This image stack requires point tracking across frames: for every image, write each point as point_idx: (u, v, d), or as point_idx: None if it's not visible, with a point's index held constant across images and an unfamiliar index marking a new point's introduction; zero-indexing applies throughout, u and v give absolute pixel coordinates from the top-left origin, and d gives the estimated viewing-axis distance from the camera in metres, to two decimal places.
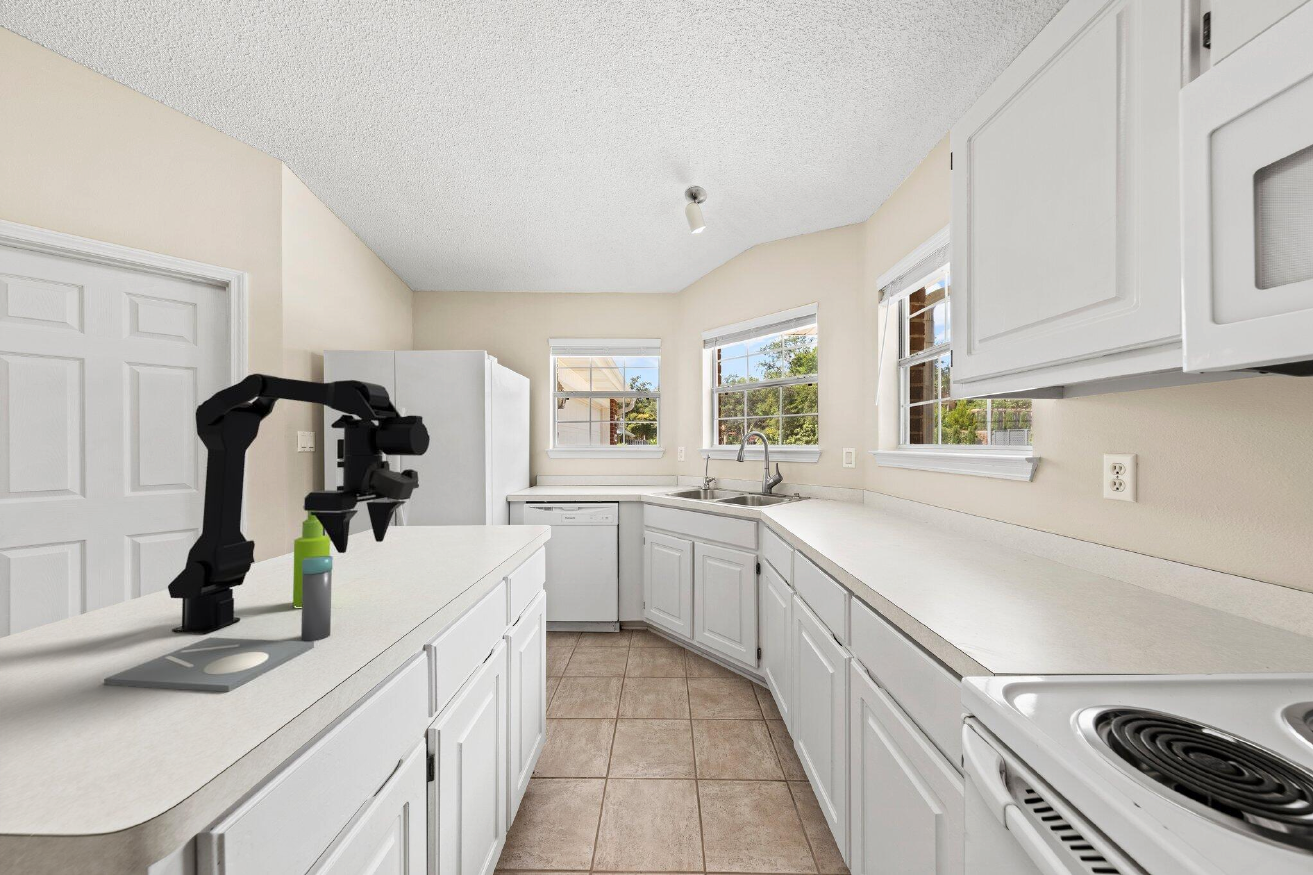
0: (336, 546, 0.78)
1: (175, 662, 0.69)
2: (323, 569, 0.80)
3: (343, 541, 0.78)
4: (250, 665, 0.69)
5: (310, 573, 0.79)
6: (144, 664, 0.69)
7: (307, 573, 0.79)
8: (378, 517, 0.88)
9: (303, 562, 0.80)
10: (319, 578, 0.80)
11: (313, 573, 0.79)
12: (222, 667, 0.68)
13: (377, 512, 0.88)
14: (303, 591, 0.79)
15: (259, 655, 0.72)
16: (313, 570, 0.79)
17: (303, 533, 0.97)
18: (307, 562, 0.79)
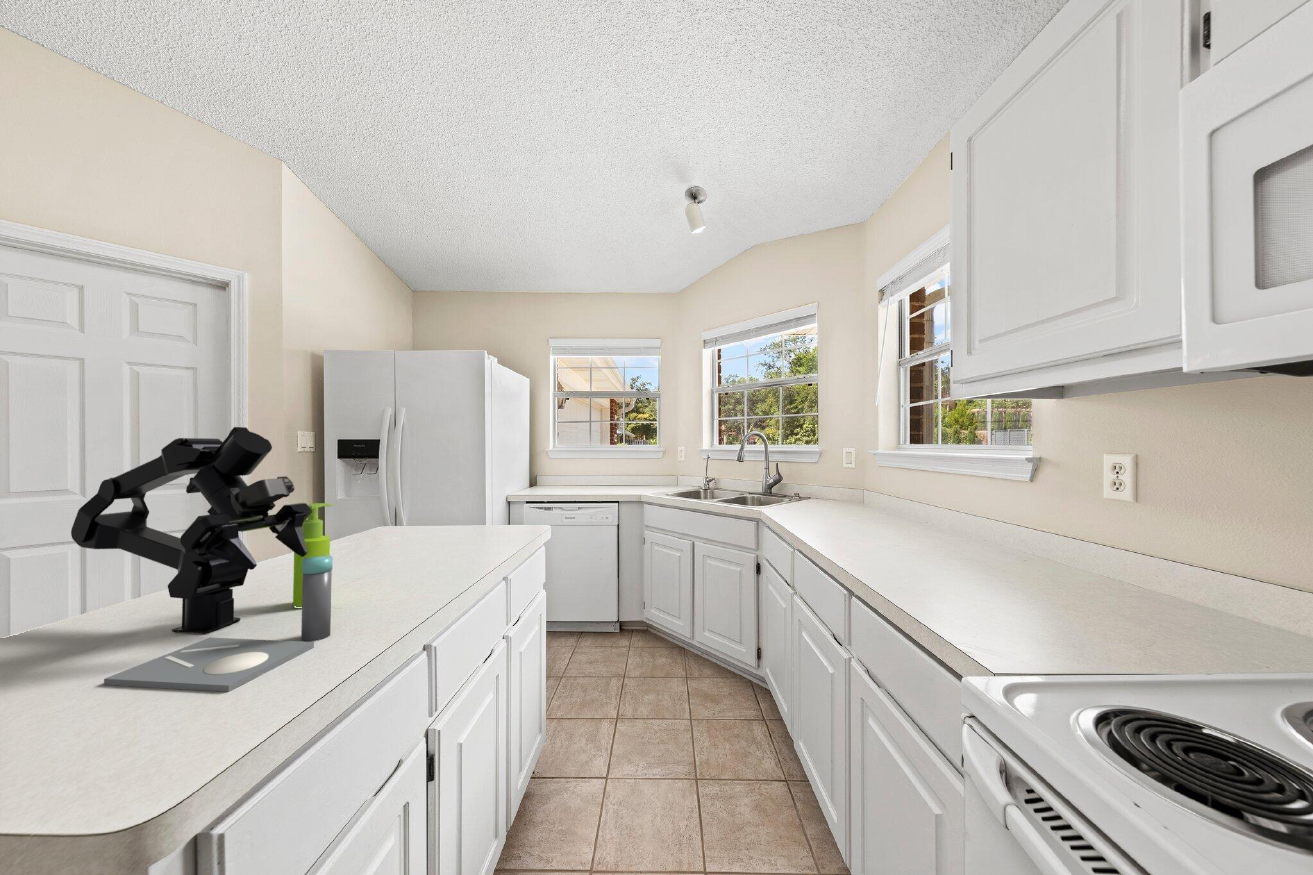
0: (245, 565, 0.78)
1: (175, 662, 0.69)
2: (323, 569, 0.80)
3: (245, 556, 0.78)
4: (250, 665, 0.69)
5: (310, 573, 0.79)
6: (144, 664, 0.69)
7: (307, 573, 0.79)
8: (290, 538, 0.88)
9: (303, 562, 0.80)
10: (319, 578, 0.80)
11: (313, 573, 0.79)
12: (222, 667, 0.68)
13: (287, 536, 0.88)
14: (303, 591, 0.79)
15: (259, 655, 0.72)
16: (313, 570, 0.79)
17: (303, 533, 0.97)
18: (307, 562, 0.79)
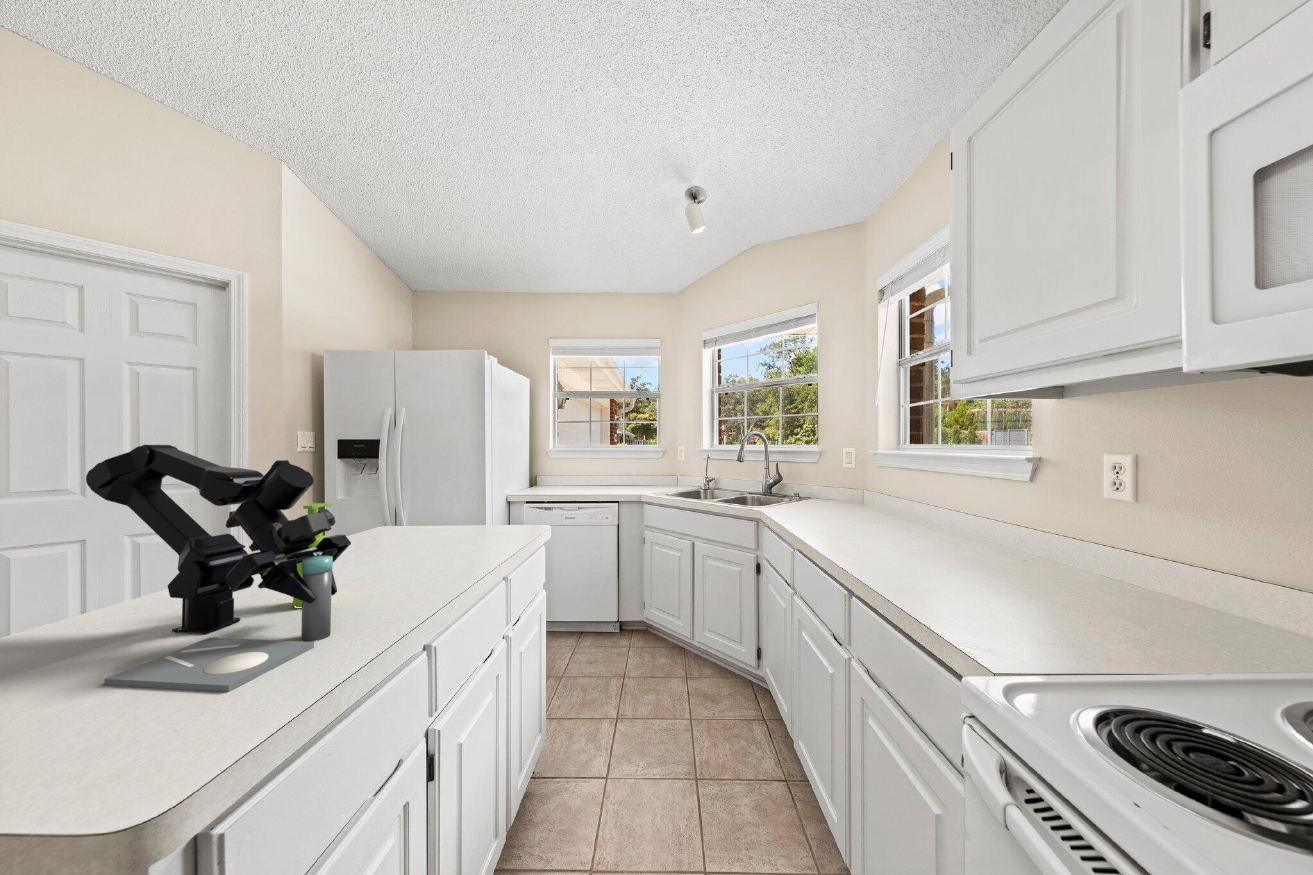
0: (303, 599, 0.79)
1: (175, 662, 0.69)
2: (323, 569, 0.80)
3: (304, 590, 0.78)
4: (250, 665, 0.69)
5: (310, 573, 0.79)
6: (144, 664, 0.69)
7: (307, 573, 0.79)
8: None
9: (303, 562, 0.80)
10: (319, 578, 0.80)
11: (313, 573, 0.79)
12: (222, 667, 0.68)
13: None
14: None
15: (259, 655, 0.72)
16: (313, 570, 0.79)
17: None
18: (307, 562, 0.79)
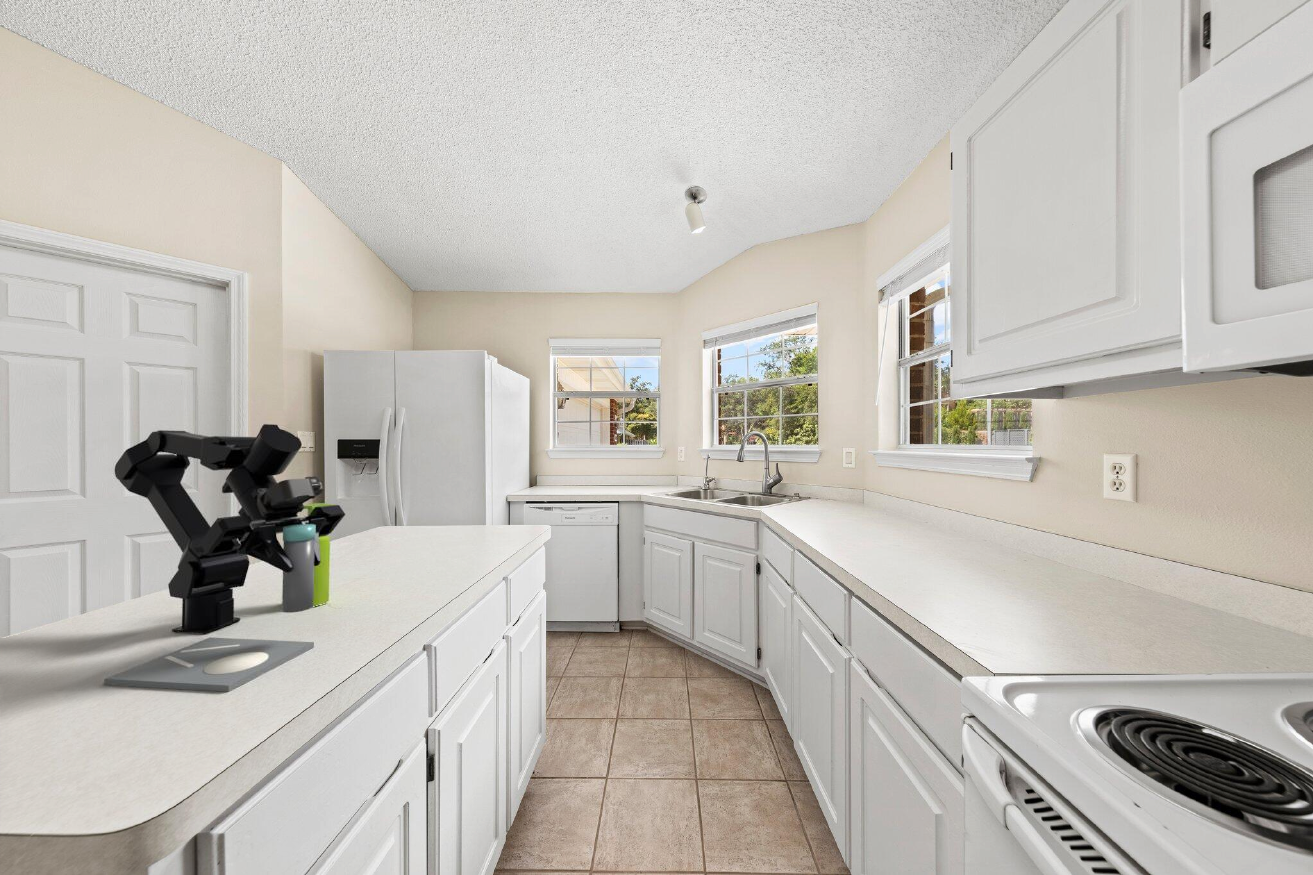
0: (281, 568, 0.75)
1: (175, 662, 0.69)
2: (302, 537, 0.76)
3: (282, 559, 0.75)
4: (250, 665, 0.69)
5: (289, 541, 0.75)
6: (144, 664, 0.69)
7: (286, 541, 0.76)
8: None
9: (283, 529, 0.76)
10: (298, 546, 0.76)
11: (291, 541, 0.75)
12: (222, 667, 0.68)
13: None
14: None
15: (259, 655, 0.72)
16: (292, 538, 0.75)
17: None
18: (286, 529, 0.76)
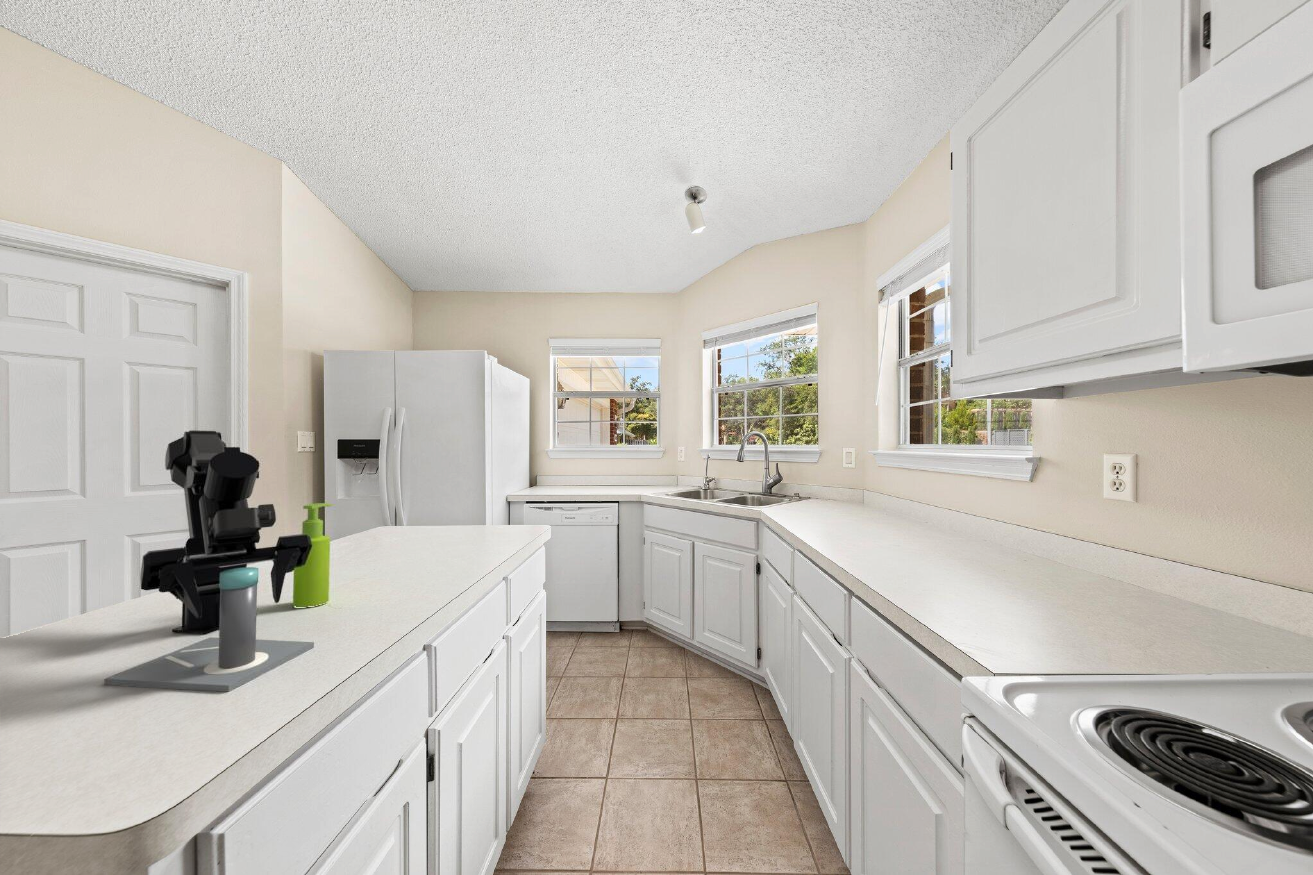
0: (193, 612, 0.66)
1: (175, 662, 0.69)
2: (235, 585, 0.68)
3: (192, 602, 0.66)
4: (250, 665, 0.69)
5: (221, 588, 0.68)
6: (144, 664, 0.69)
7: (220, 588, 0.68)
8: (273, 578, 0.74)
9: (220, 574, 0.69)
10: (229, 595, 0.68)
11: (223, 589, 0.67)
12: None
13: (273, 574, 0.75)
14: None
15: (259, 655, 0.72)
16: (224, 585, 0.67)
17: (303, 533, 0.97)
18: (220, 575, 0.68)
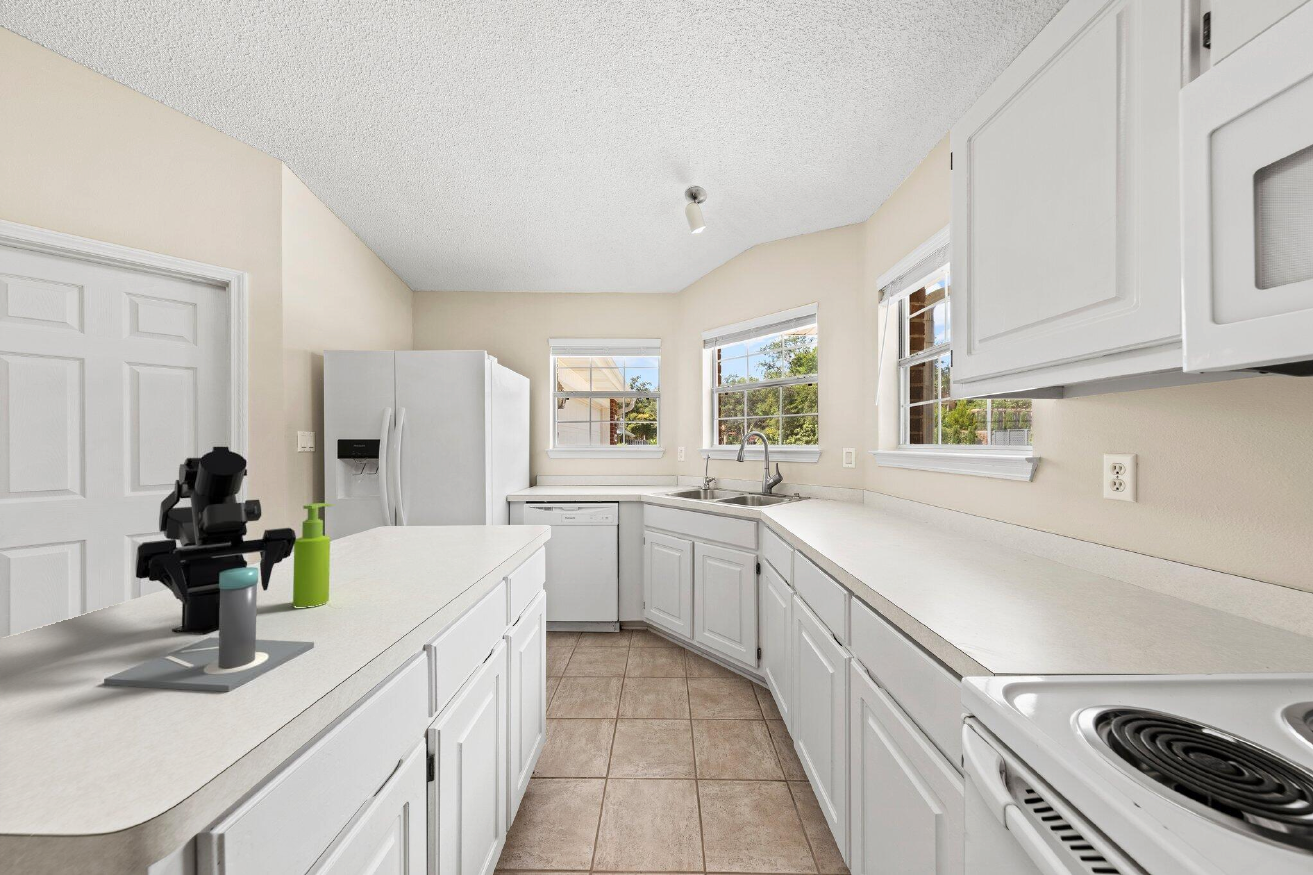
0: (180, 599, 0.71)
1: (175, 662, 0.69)
2: (234, 585, 0.68)
3: (180, 589, 0.71)
4: (250, 665, 0.69)
5: (221, 588, 0.68)
6: (144, 664, 0.69)
7: (220, 588, 0.68)
8: (262, 567, 0.80)
9: (220, 574, 0.69)
10: (229, 595, 0.68)
11: (223, 589, 0.68)
12: None
13: (262, 564, 0.81)
14: None
15: (259, 655, 0.72)
16: (223, 585, 0.68)
17: (303, 533, 0.97)
18: (220, 575, 0.68)
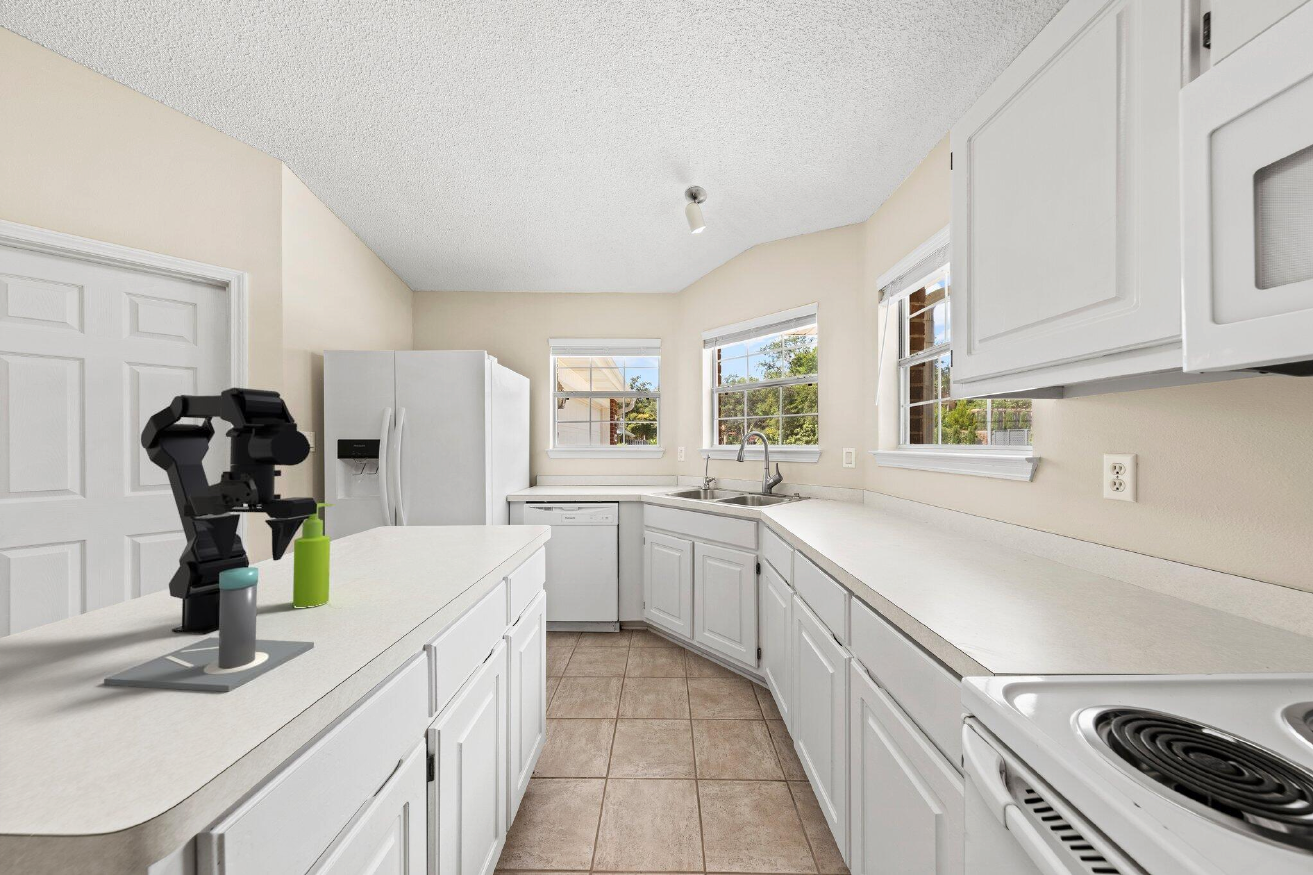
0: None
1: (175, 662, 0.69)
2: (234, 585, 0.68)
3: (218, 547, 0.80)
4: (250, 665, 0.69)
5: (221, 588, 0.68)
6: (144, 664, 0.69)
7: (220, 588, 0.68)
8: None
9: (220, 574, 0.69)
10: (229, 595, 0.68)
11: (223, 589, 0.68)
12: None
13: None
14: None
15: (259, 655, 0.72)
16: (223, 585, 0.68)
17: (303, 533, 0.97)
18: (220, 575, 0.68)
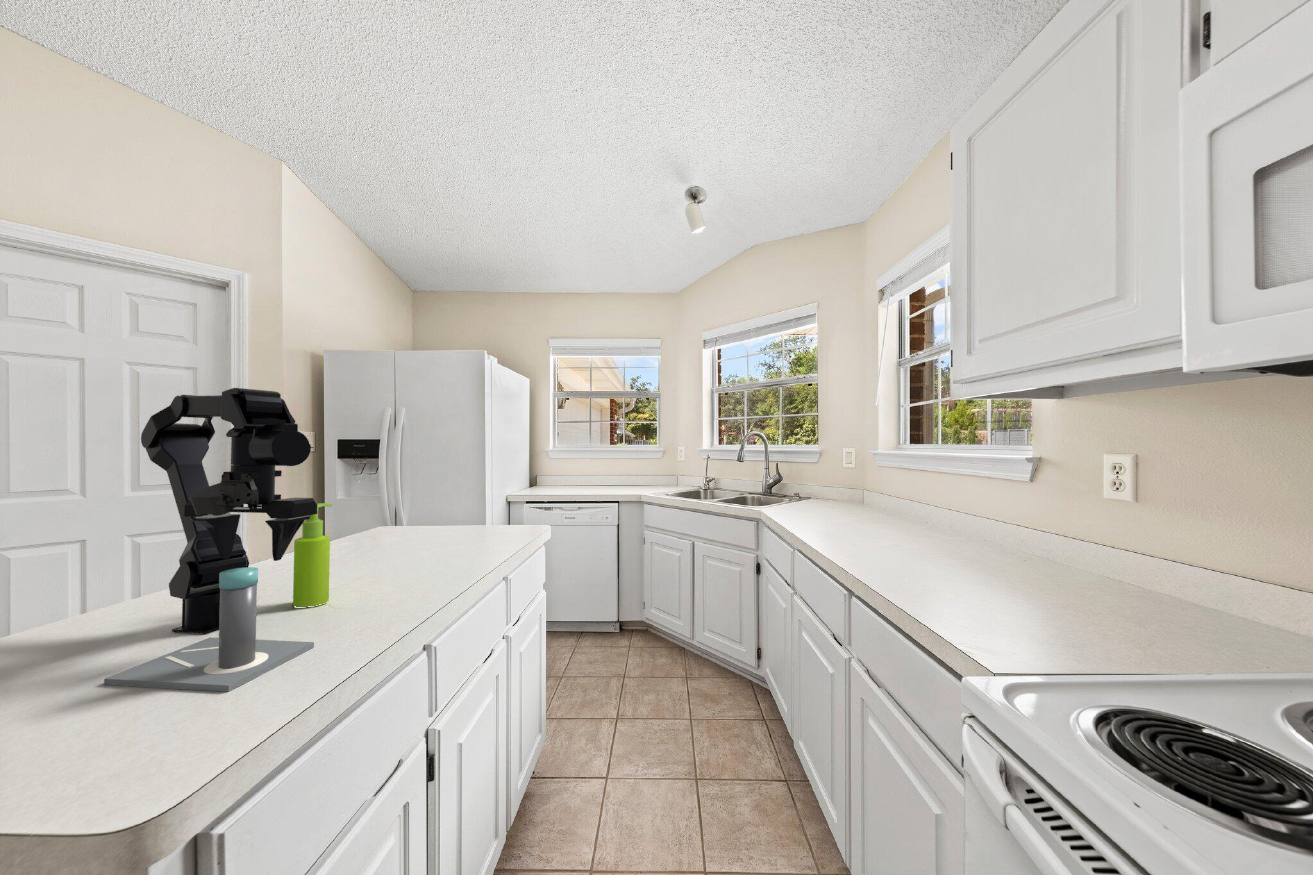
0: None
1: (175, 662, 0.69)
2: (234, 585, 0.68)
3: (218, 547, 0.80)
4: (250, 665, 0.69)
5: (221, 588, 0.68)
6: (144, 664, 0.69)
7: (220, 588, 0.68)
8: None
9: (220, 574, 0.69)
10: (229, 595, 0.68)
11: (223, 589, 0.68)
12: None
13: None
14: None
15: (259, 655, 0.72)
16: (223, 585, 0.68)
17: (303, 533, 0.97)
18: (220, 575, 0.68)
